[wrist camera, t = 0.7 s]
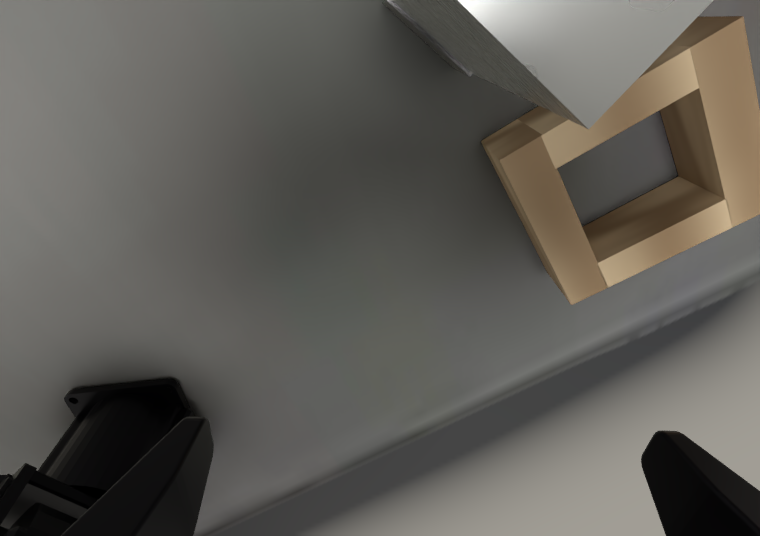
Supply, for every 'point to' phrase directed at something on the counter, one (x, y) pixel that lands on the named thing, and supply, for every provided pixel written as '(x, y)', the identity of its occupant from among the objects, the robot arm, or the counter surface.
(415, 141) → the counter surface
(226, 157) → the counter surface
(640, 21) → the aluminum post
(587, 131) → the frame
